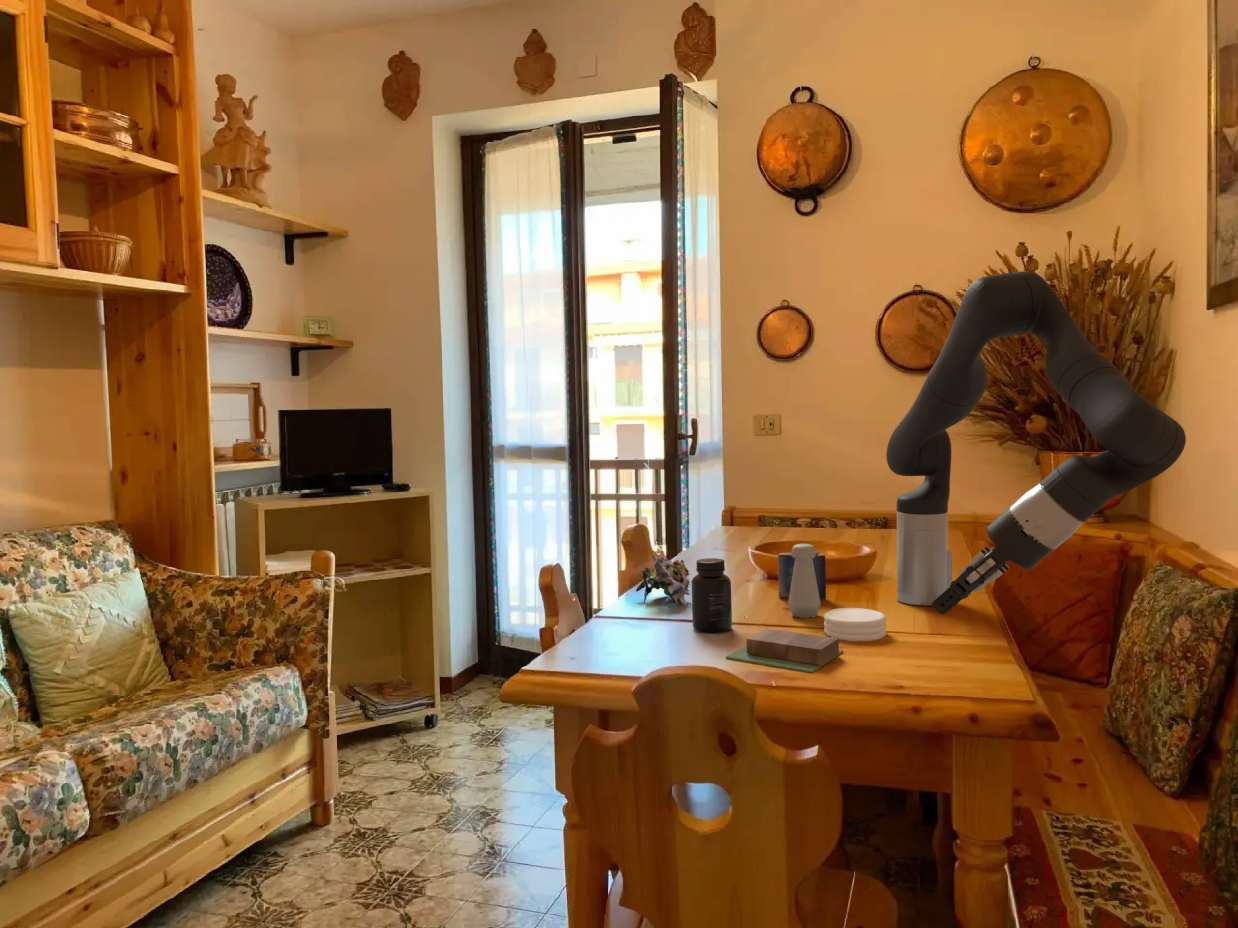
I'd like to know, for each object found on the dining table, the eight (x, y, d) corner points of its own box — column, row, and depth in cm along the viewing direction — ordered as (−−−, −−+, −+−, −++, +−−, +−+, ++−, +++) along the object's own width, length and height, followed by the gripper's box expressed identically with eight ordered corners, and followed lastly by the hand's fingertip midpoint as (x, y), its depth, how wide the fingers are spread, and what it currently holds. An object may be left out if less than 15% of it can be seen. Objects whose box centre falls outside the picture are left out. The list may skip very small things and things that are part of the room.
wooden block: (838, 638, 132) (766, 628, 139) (820, 649, 126) (746, 638, 133) (838, 654, 132) (766, 643, 139) (821, 666, 126) (746, 654, 133)
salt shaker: (821, 619, 154) (820, 547, 153) (788, 619, 155) (787, 547, 154) (820, 611, 160) (819, 542, 159) (788, 611, 161) (787, 541, 160)
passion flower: (681, 631, 169) (682, 590, 162) (628, 619, 172) (626, 578, 164) (695, 589, 177) (697, 548, 170) (644, 578, 180) (643, 537, 172)
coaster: (849, 646, 138) (849, 624, 138) (812, 631, 147) (811, 611, 147) (899, 637, 142) (899, 616, 142) (859, 624, 151) (859, 604, 151)
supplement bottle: (735, 624, 152) (734, 557, 152) (727, 634, 146) (726, 564, 145) (697, 622, 155) (696, 556, 154) (688, 632, 148) (686, 563, 147)
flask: (777, 598, 171) (777, 545, 171) (780, 595, 174) (779, 542, 173) (825, 601, 168) (825, 546, 168) (827, 598, 171) (826, 544, 170)
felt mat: (842, 651, 134) (842, 650, 134) (812, 672, 125) (812, 670, 125) (760, 639, 142) (760, 637, 142) (725, 658, 133) (725, 656, 133)
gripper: (1022, 498, 118) (931, 579, 126) (1001, 510, 108) (903, 597, 116) (1065, 539, 116) (970, 619, 124) (1048, 555, 105) (944, 641, 113)
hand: (937, 608), depth 120 cm, fingers closed
